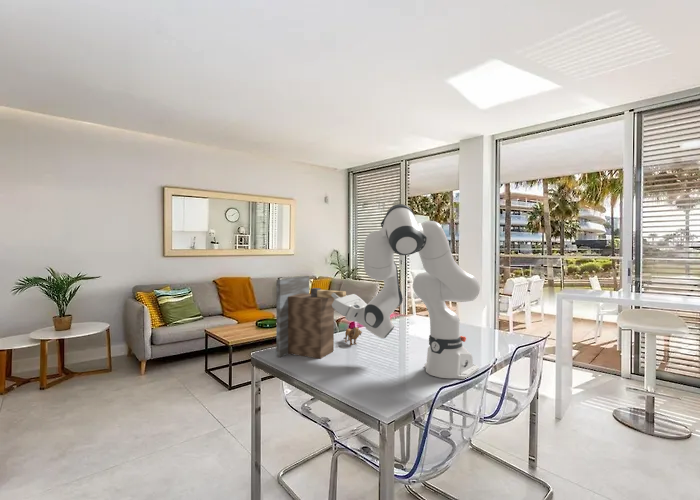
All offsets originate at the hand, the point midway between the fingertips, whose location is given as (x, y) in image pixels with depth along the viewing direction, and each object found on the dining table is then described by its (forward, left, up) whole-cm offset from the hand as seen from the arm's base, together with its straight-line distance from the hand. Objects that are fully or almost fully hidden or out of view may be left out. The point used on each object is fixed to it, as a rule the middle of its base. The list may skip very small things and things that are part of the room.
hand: (334, 293), depth 165 cm
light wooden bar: (+1, -3, -2) cm, 4 cm away
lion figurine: (-20, -12, -28) cm, 37 cm away
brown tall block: (+6, -12, -28) cm, 31 cm away
